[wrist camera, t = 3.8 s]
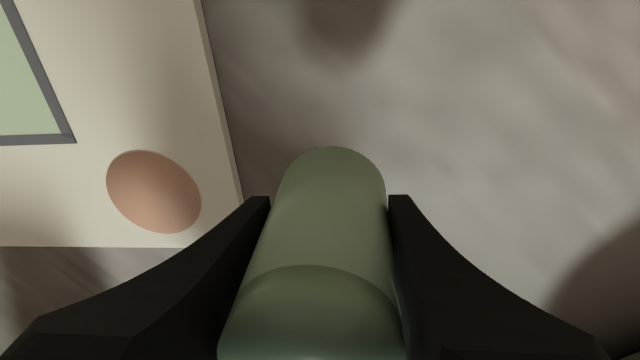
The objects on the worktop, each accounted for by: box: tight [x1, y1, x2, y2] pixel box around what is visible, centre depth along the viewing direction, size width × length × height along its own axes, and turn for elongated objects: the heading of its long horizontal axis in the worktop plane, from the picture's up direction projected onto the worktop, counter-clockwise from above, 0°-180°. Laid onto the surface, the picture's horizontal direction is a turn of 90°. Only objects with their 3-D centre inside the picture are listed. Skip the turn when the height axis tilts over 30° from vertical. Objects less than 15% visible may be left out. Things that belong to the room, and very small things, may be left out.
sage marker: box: [217, 146, 406, 360], centre depth 10 cm, size 4×4×7 cm
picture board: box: [0, 0, 244, 248], centre depth 19 cm, size 18×20×1 cm
